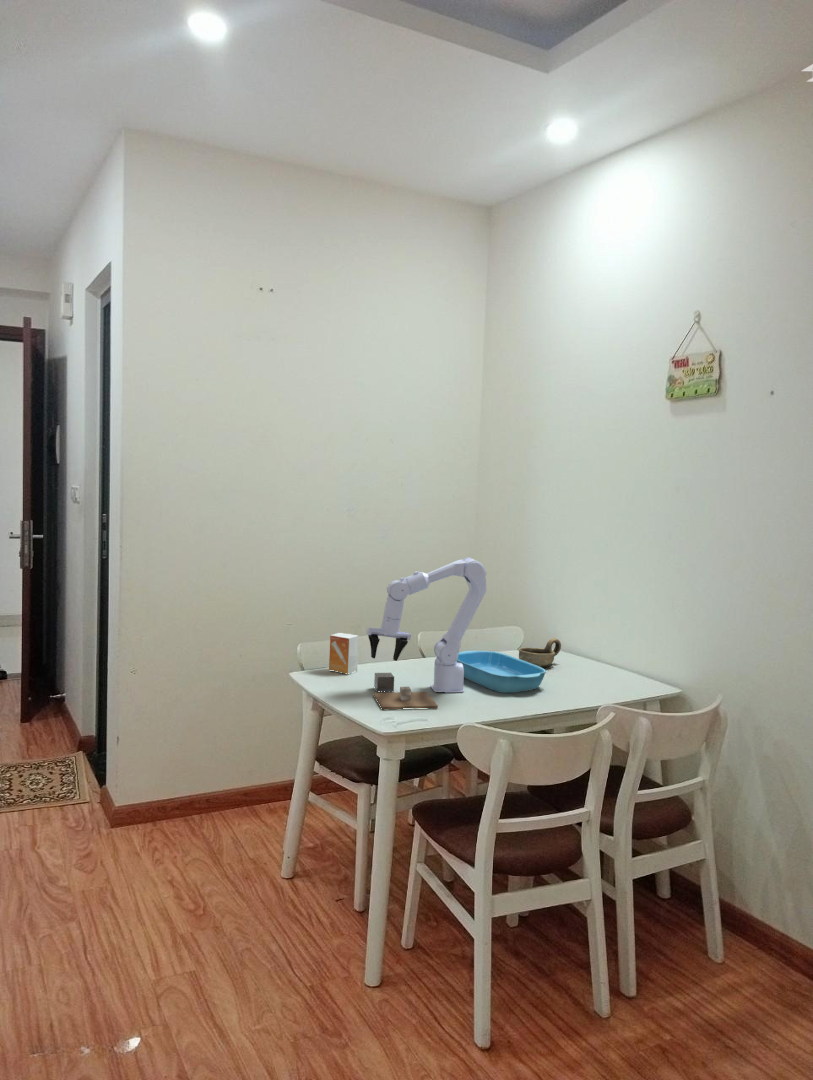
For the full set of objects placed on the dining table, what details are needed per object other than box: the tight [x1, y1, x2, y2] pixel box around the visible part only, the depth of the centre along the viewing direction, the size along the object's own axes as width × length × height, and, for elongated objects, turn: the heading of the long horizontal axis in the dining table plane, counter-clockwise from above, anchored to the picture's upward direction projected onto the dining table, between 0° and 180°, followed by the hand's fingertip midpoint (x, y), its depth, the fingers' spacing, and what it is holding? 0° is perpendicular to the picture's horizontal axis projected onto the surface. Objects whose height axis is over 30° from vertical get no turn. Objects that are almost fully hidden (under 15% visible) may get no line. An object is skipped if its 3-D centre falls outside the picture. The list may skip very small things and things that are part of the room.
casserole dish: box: [457, 650, 547, 694], centre depth 278 cm, size 37×22×7 cm, turn 31°
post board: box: [373, 686, 439, 710], centre depth 249 cm, size 17×15×4 cm
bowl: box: [518, 637, 562, 667], centre depth 303 cm, size 14×18×10 cm
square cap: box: [373, 672, 395, 693], centre depth 261 cm, size 5×5×5 cm
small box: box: [328, 632, 360, 674], centre depth 282 cm, size 8×6×13 cm
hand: (384, 658), depth 261 cm, fingers open, 7 cm apart
